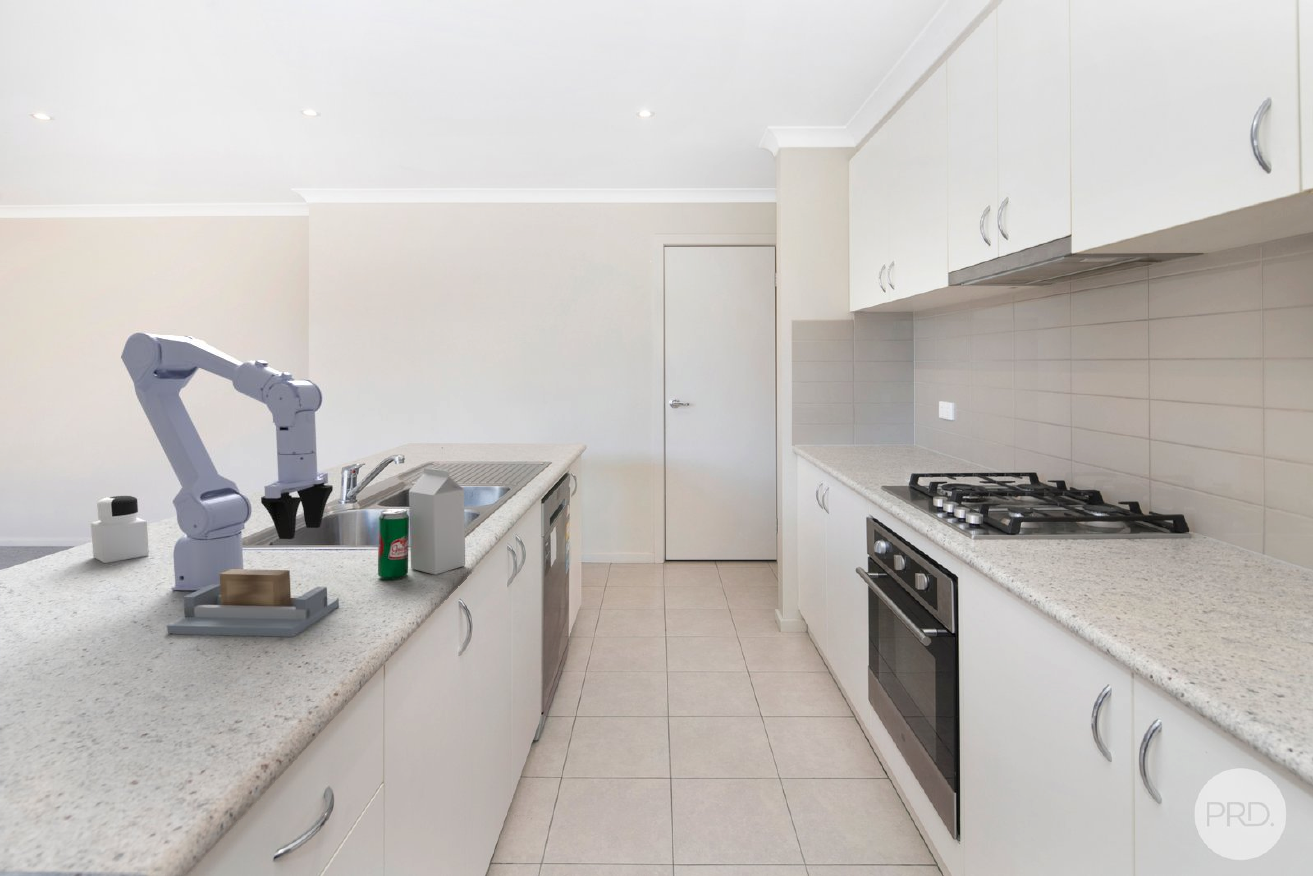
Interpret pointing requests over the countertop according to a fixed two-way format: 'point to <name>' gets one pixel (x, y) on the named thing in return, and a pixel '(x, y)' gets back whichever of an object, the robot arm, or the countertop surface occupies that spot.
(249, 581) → the door slab
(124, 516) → the medicine bottle
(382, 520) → the soda can
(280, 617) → the floor track
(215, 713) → the countertop surface
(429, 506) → the milk carton
